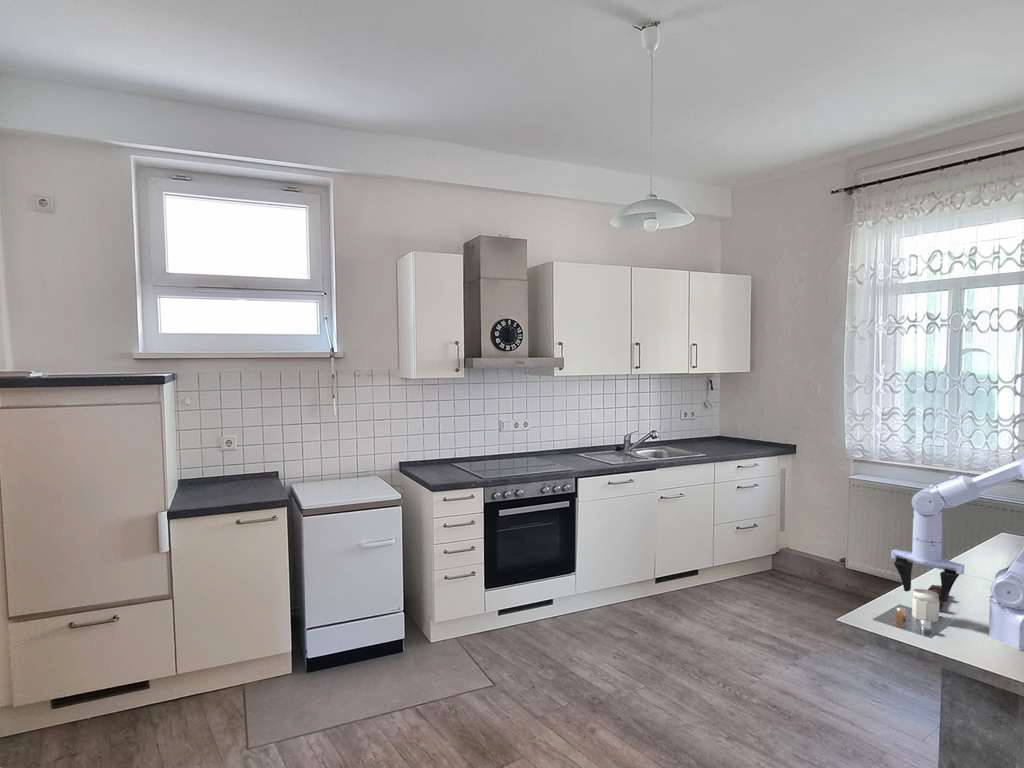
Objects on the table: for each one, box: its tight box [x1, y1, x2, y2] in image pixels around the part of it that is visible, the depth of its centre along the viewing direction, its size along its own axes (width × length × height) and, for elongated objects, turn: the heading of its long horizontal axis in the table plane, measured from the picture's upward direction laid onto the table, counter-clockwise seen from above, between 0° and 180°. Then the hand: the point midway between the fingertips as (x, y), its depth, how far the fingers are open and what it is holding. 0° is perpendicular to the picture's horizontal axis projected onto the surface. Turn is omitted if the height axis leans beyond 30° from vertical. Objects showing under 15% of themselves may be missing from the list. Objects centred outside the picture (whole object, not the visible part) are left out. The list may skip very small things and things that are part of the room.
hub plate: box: [871, 603, 957, 639], centre depth 139 cm, size 16×12×4 cm
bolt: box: [927, 584, 950, 612], centre depth 151 cm, size 6×5×15 cm
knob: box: [911, 588, 940, 622], centre depth 141 cm, size 5×5×6 cm
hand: (925, 595), depth 141 cm, fingers open, 7 cm apart
